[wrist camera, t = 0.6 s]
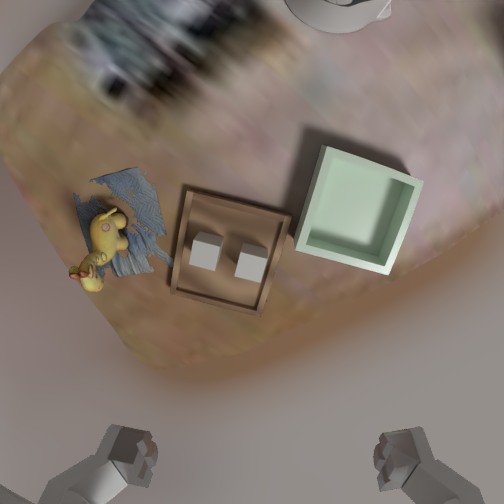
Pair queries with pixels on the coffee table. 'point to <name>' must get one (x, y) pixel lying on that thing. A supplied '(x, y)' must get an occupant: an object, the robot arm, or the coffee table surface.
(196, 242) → the stone cube
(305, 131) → the coffee table surface
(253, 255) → the stone cube
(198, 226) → the walnut tray
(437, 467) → the robot arm
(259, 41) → the coffee table surface
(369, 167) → the green bin
